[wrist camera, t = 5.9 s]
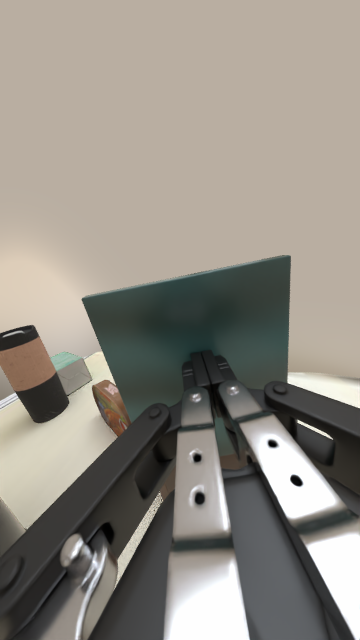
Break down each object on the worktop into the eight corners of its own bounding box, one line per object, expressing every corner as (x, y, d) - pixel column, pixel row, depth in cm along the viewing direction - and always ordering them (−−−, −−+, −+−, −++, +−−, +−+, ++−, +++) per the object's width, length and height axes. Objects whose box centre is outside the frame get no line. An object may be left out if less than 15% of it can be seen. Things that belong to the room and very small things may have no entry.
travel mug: (32, 411, 43) (-11, 335, 37) (67, 393, 47) (34, 322, 41) (32, 430, 37) (-20, 343, 31) (72, 408, 41) (34, 327, 35)
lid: (86, 295, 11) (80, 298, 11) (283, 254, 11) (291, 255, 10) (150, 460, 17) (149, 470, 16) (280, 435, 17) (286, 444, 16)
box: (72, 369, 59) (63, 350, 57) (93, 379, 51) (83, 356, 49) (48, 383, 54) (37, 362, 52) (66, 397, 46) (54, 372, 43)
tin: (99, 414, 37) (85, 380, 35) (113, 404, 39) (100, 372, 37) (137, 459, 27) (120, 416, 24) (153, 443, 29) (140, 401, 26)
